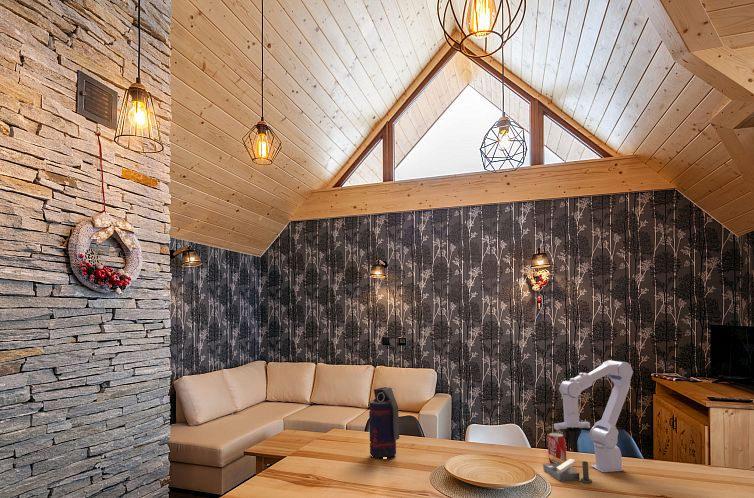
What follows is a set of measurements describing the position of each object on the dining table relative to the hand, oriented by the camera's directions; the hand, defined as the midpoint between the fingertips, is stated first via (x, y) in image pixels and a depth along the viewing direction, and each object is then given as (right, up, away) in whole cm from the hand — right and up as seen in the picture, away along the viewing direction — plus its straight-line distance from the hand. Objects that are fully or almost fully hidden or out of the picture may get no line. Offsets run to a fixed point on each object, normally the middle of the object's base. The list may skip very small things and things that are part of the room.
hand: (573, 447), depth 195 cm
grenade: (-75, -14, +25) cm, 80 cm away
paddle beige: (-6, -4, -7) cm, 10 cm away
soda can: (-3, -11, +10) cm, 15 cm away
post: (+1, -9, -11) cm, 14 cm away
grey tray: (-6, -10, -3) cm, 12 cm away
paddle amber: (-7, -5, -1) cm, 8 cm away
